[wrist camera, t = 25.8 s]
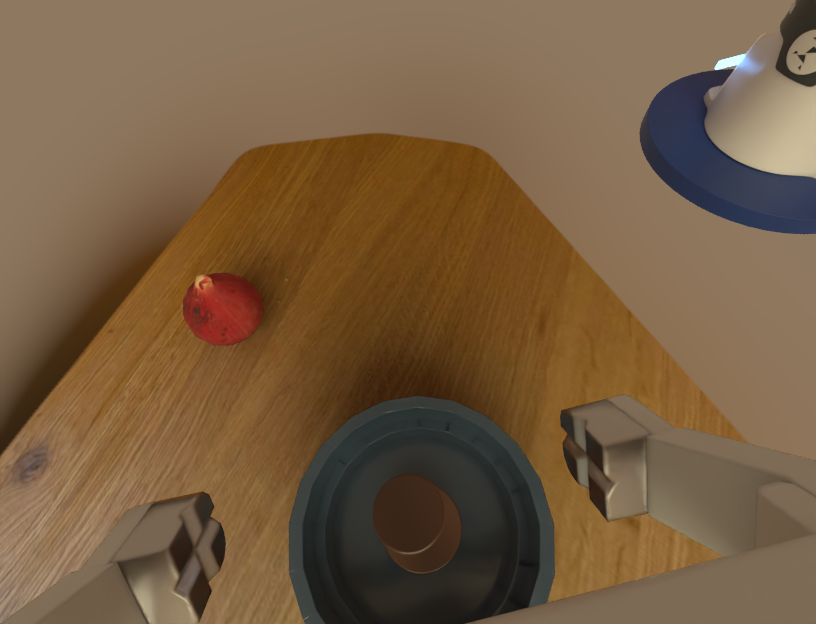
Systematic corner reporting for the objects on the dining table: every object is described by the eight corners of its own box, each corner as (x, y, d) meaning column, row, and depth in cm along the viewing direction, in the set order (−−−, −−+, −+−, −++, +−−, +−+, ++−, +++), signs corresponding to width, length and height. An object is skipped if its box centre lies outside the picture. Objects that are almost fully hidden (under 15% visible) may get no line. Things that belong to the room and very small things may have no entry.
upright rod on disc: (436, 473, 28) (443, 391, 12) (473, 545, 26) (540, 559, 10) (373, 509, 27) (292, 470, 11) (405, 587, 25) (361, 674, 9)
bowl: (459, 388, 32) (464, 359, 27) (576, 583, 25) (614, 596, 20) (287, 477, 29) (256, 464, 24) (368, 723, 23) (349, 779, 17)
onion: (250, 370, 34) (203, 326, 27) (197, 345, 35) (139, 298, 28) (287, 314, 36) (253, 261, 29) (236, 294, 38) (192, 238, 31)
